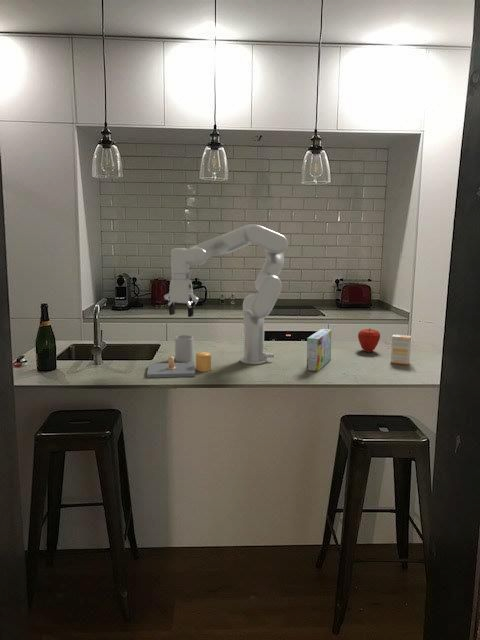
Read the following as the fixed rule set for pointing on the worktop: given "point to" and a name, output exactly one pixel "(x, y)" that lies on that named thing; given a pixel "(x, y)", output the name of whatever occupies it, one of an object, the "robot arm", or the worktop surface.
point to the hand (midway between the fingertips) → (181, 315)
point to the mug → (184, 348)
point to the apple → (368, 339)
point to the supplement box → (400, 349)
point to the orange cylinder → (203, 361)
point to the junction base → (171, 369)
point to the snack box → (318, 349)
